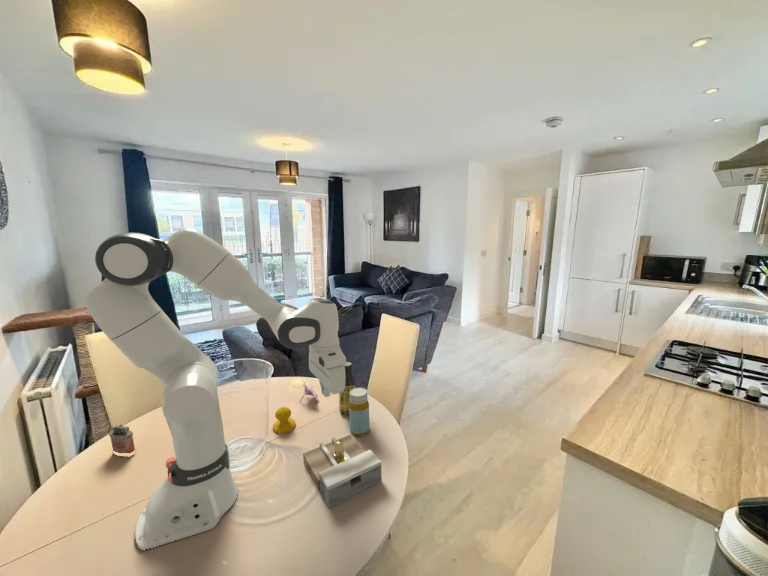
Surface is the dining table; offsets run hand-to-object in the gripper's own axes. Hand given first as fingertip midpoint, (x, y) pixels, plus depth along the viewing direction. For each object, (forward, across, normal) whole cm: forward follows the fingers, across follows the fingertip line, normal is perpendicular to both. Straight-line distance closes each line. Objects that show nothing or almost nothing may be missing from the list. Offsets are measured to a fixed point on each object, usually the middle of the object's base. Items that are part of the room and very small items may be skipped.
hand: (326, 394), depth 96 cm
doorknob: (+22, -24, -7) cm, 33 cm away
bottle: (+21, -6, +15) cm, 27 cm away
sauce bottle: (+21, -20, +17) cm, 34 cm away
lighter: (+23, -40, -55) cm, 72 cm away
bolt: (+18, +10, +1) cm, 21 cm away
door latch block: (+21, +8, +1) cm, 23 cm away
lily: (+21, -37, +7) cm, 43 cm away
